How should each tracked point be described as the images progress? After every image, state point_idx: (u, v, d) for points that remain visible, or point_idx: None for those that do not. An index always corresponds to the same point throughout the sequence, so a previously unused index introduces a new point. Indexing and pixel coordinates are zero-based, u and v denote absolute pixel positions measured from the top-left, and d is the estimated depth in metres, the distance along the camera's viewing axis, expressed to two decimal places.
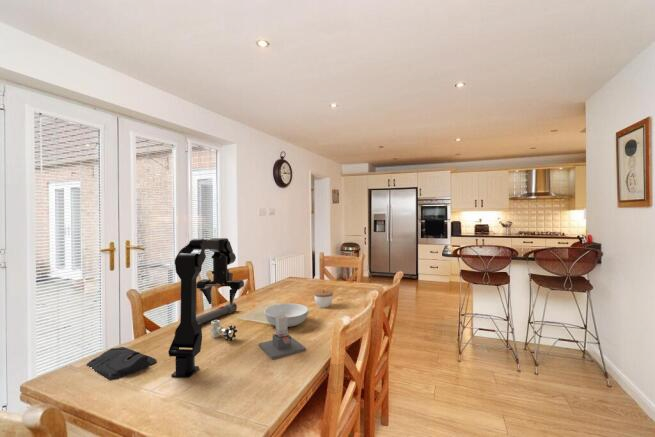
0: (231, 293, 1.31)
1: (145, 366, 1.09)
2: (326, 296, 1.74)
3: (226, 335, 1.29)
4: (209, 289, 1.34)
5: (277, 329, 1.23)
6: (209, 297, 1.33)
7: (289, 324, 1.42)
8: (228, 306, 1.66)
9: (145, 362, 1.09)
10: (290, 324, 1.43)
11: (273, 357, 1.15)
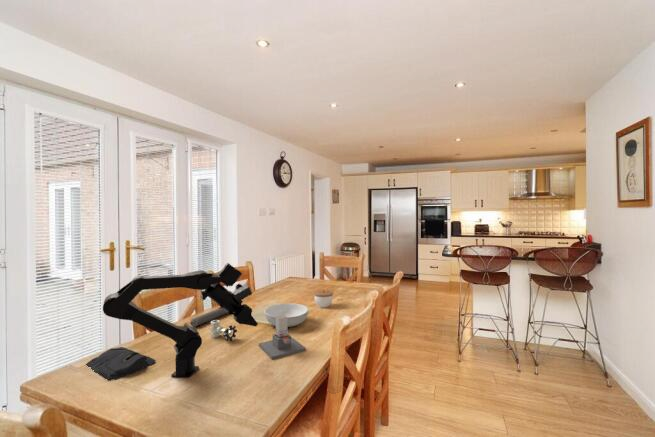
0: None
1: (144, 367, 1.08)
2: (326, 296, 1.74)
3: (226, 335, 1.29)
4: None
5: (277, 329, 1.23)
6: None
7: (289, 324, 1.42)
8: None
9: (144, 363, 1.08)
10: (290, 324, 1.43)
11: (273, 357, 1.15)
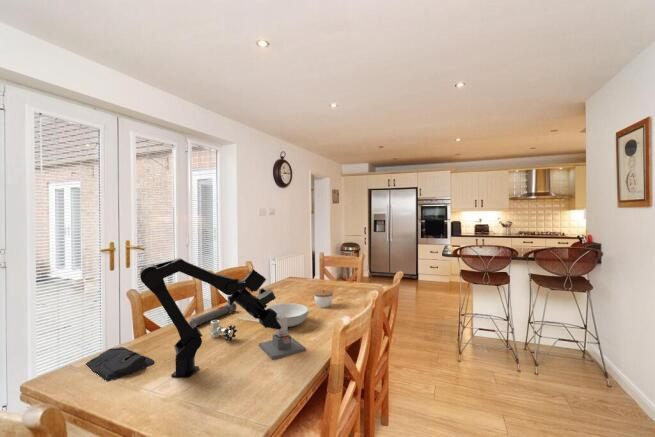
0: None
1: (142, 367, 1.08)
2: (326, 296, 1.74)
3: (226, 335, 1.29)
4: None
5: (277, 329, 1.23)
6: None
7: (289, 324, 1.42)
8: (228, 306, 1.66)
9: (142, 363, 1.08)
10: (290, 324, 1.43)
11: (273, 357, 1.15)
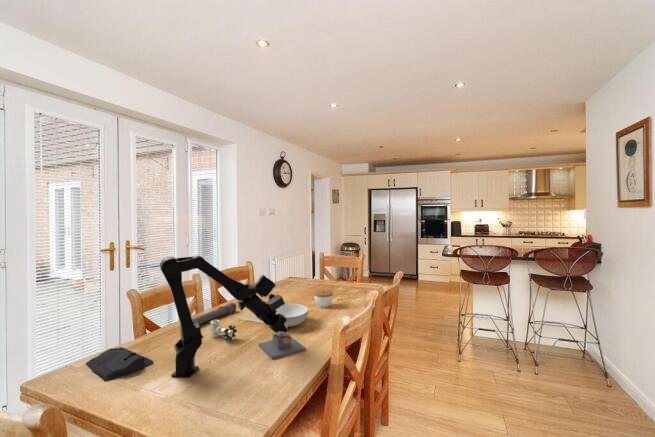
0: None
1: (141, 367, 1.08)
2: (326, 296, 1.74)
3: (226, 335, 1.30)
4: (272, 318, 1.25)
5: None
6: None
7: (289, 324, 1.42)
8: (228, 306, 1.66)
9: (141, 363, 1.08)
10: (290, 324, 1.43)
11: (273, 357, 1.15)
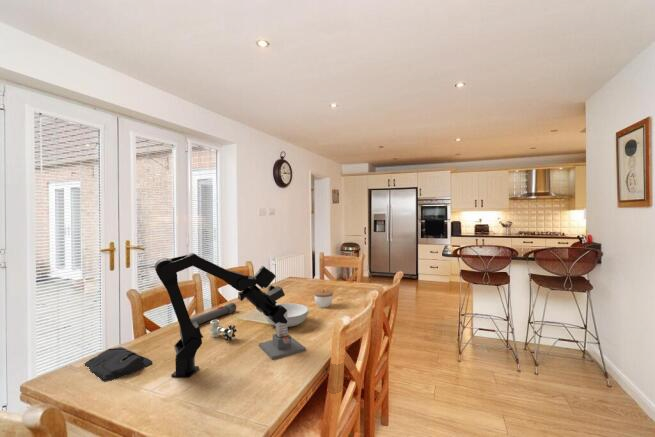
0: None
1: (140, 367, 1.08)
2: (326, 296, 1.74)
3: (225, 335, 1.30)
4: None
5: None
6: None
7: (289, 324, 1.42)
8: (227, 306, 1.66)
9: (140, 363, 1.08)
10: (290, 324, 1.43)
11: (273, 357, 1.15)
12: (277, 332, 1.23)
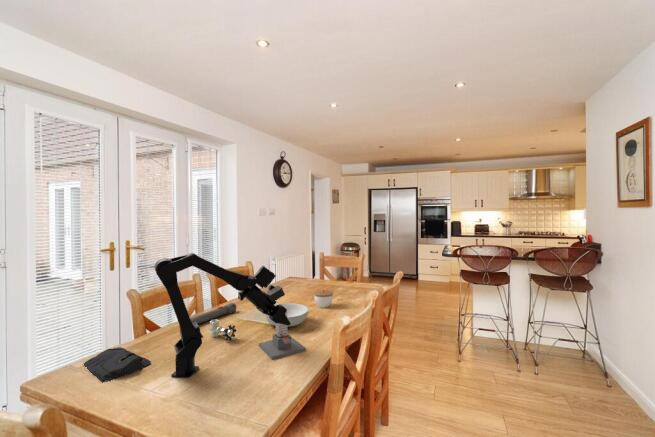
0: (277, 322, 1.17)
1: (138, 368, 1.07)
2: (326, 296, 1.74)
3: (225, 334, 1.30)
4: None
5: None
6: None
7: None
8: (227, 306, 1.66)
9: (138, 364, 1.07)
10: (290, 324, 1.43)
11: (273, 357, 1.15)
12: (277, 332, 1.23)
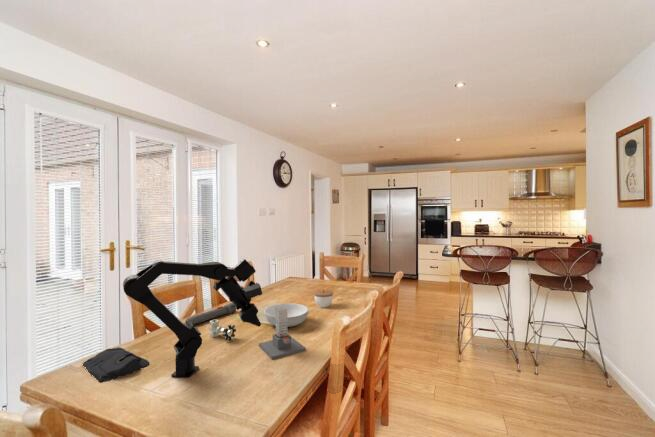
0: None
1: (136, 368, 1.07)
2: (326, 296, 1.74)
3: (225, 334, 1.30)
4: None
5: (277, 321, 1.23)
6: None
7: (289, 324, 1.42)
8: (227, 306, 1.66)
9: (136, 364, 1.07)
10: (290, 324, 1.43)
11: (273, 357, 1.15)
12: (277, 332, 1.23)
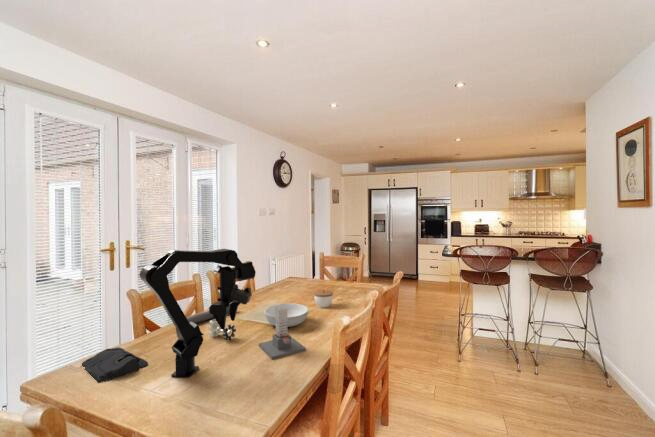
0: None
1: (135, 369, 1.07)
2: (326, 296, 1.74)
3: (225, 334, 1.30)
4: (233, 304, 1.21)
5: (277, 321, 1.23)
6: (231, 312, 1.21)
7: (289, 324, 1.42)
8: None
9: (135, 365, 1.07)
10: (290, 324, 1.43)
11: (273, 357, 1.15)
12: (277, 332, 1.23)
